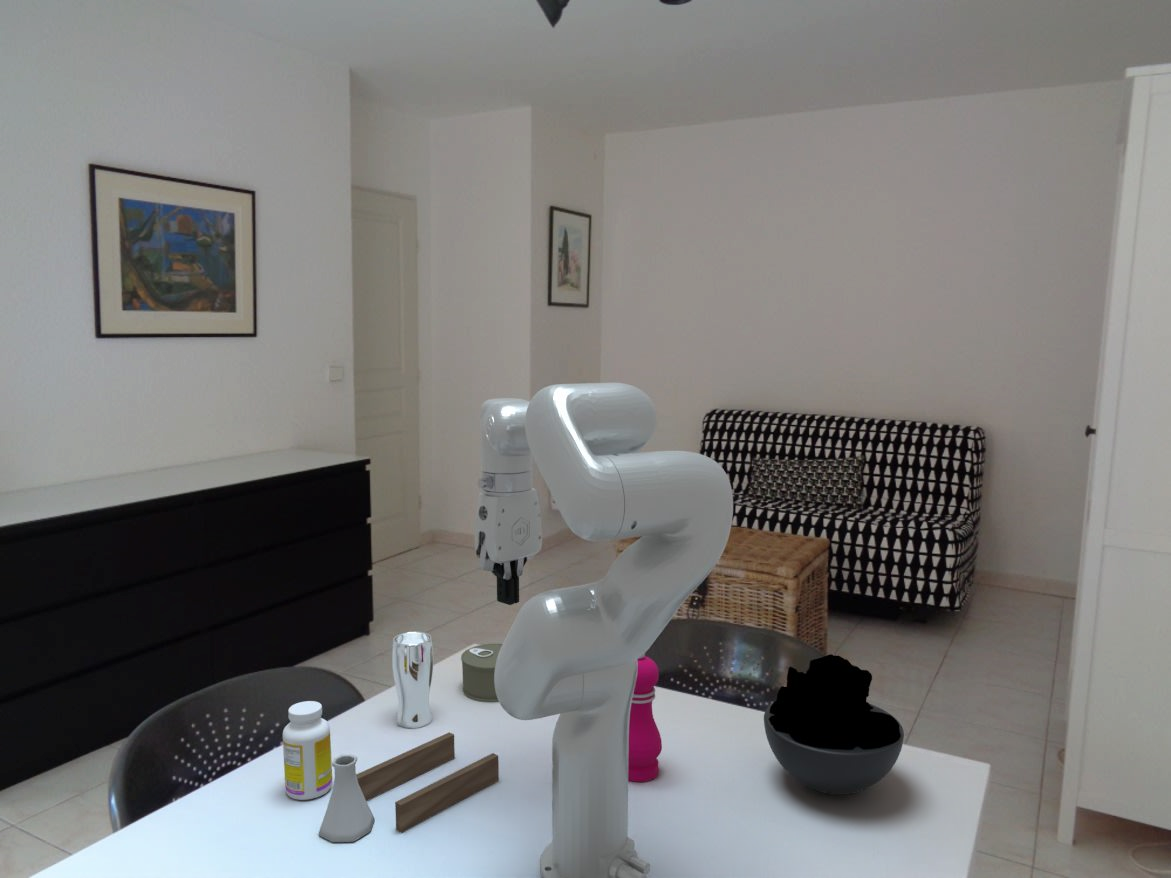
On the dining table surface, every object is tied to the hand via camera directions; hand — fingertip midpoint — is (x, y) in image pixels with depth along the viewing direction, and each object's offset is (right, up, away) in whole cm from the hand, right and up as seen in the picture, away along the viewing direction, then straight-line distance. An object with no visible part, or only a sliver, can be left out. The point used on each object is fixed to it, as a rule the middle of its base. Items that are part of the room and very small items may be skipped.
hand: (508, 601), depth 128 cm
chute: (-12, -28, -2) cm, 30 cm away
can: (-6, -23, +34) cm, 41 cm away
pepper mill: (+20, -27, +3) cm, 34 cm away
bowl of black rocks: (+48, -28, 0) cm, 56 cm away
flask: (-21, -29, -12) cm, 38 cm away
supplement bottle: (-29, -28, -2) cm, 40 cm away
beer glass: (-18, -25, +21) cm, 37 cm away
